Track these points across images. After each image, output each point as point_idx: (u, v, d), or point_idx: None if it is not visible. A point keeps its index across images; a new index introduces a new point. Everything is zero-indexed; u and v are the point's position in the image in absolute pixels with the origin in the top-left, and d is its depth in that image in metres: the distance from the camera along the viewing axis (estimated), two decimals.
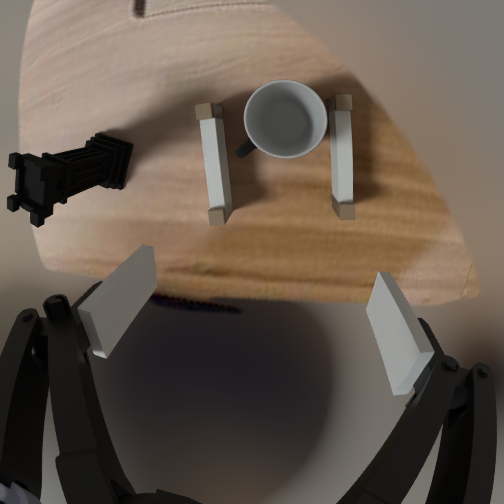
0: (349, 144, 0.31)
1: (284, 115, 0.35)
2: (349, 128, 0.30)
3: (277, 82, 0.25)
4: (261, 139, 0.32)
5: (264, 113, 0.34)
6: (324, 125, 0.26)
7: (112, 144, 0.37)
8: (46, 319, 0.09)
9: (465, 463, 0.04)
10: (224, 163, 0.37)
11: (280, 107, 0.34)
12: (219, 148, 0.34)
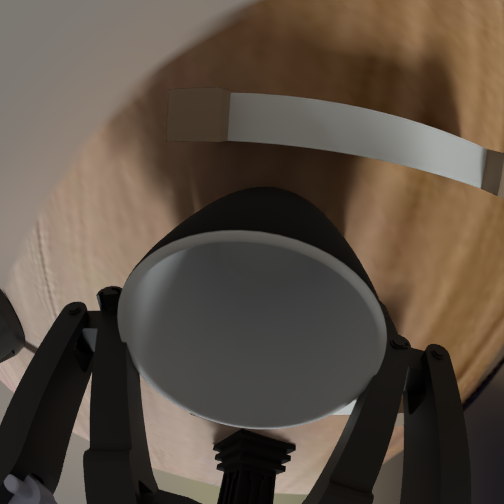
0: (343, 112, 0.09)
1: (252, 241, 0.17)
2: (290, 101, 0.09)
3: (131, 349, 0.09)
4: (297, 339, 0.14)
5: (240, 281, 0.18)
6: (293, 248, 0.06)
7: (232, 451, 0.26)
8: (94, 312, 0.10)
9: (434, 450, 0.05)
10: None
11: (232, 246, 0.17)
12: None
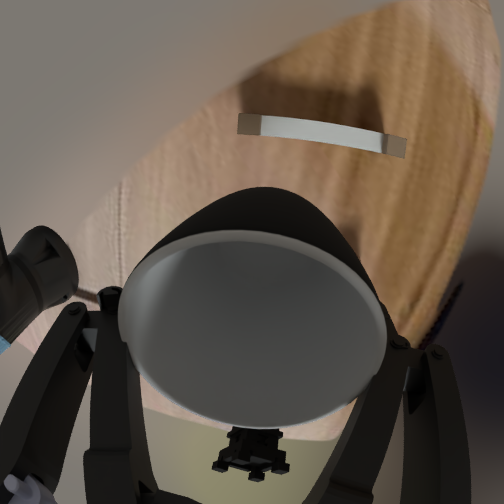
0: (308, 123, 0.23)
1: (252, 241, 0.17)
2: (286, 119, 0.23)
3: (131, 349, 0.09)
4: (298, 338, 0.14)
5: (241, 281, 0.18)
6: (293, 248, 0.06)
7: None
8: (94, 312, 0.10)
9: (434, 450, 0.05)
10: None
11: (232, 246, 0.17)
12: None
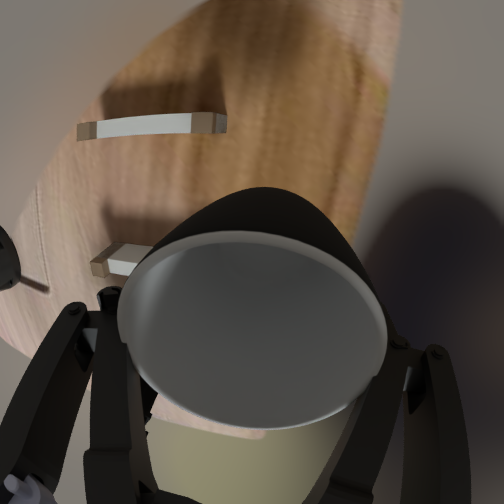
0: (128, 120, 0.24)
1: None
2: (112, 121, 0.24)
3: (131, 350, 0.09)
4: (298, 339, 0.14)
5: (241, 282, 0.18)
6: (293, 249, 0.06)
7: None
8: (94, 312, 0.10)
9: (434, 450, 0.05)
10: None
11: (232, 246, 0.17)
12: (137, 259, 0.32)
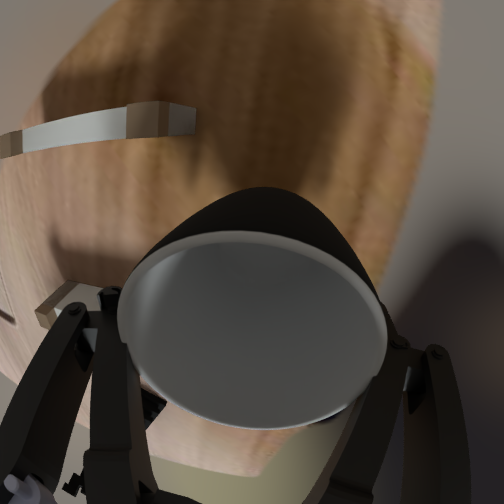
0: (54, 125, 0.14)
1: None
2: (37, 128, 0.14)
3: (131, 350, 0.09)
4: (298, 339, 0.14)
5: (241, 282, 0.18)
6: (293, 249, 0.06)
7: None
8: (94, 312, 0.10)
9: (434, 450, 0.05)
10: None
11: (232, 246, 0.17)
12: None
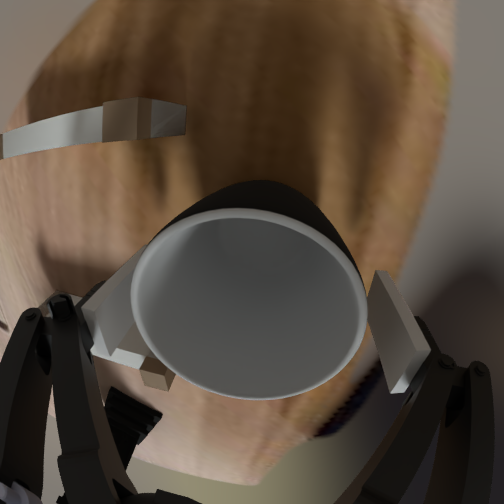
0: (32, 128, 0.12)
1: (249, 231, 0.18)
2: (17, 131, 0.12)
3: (141, 321, 0.10)
4: (292, 319, 0.15)
5: (239, 269, 0.19)
6: (281, 223, 0.08)
7: (106, 406, 0.29)
8: (49, 318, 0.09)
9: (463, 462, 0.04)
10: None
11: (231, 236, 0.19)
12: None
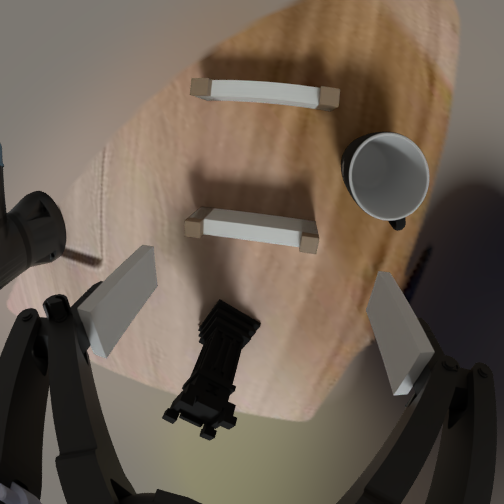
0: (250, 83, 0.26)
1: (360, 164, 0.32)
2: (232, 82, 0.26)
3: (351, 174, 0.24)
4: (389, 200, 0.29)
5: (354, 184, 0.33)
6: (405, 139, 0.22)
7: (211, 319, 0.43)
8: (46, 319, 0.09)
9: (465, 463, 0.04)
10: (258, 218, 0.35)
11: None
12: (237, 220, 0.34)
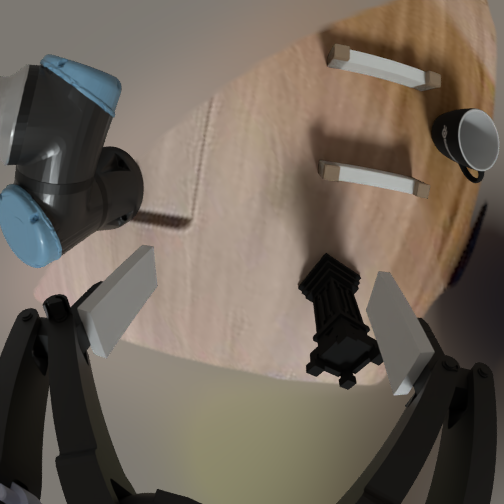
0: (378, 58, 0.27)
1: None
2: (364, 54, 0.27)
3: (459, 134, 0.25)
4: (469, 160, 0.30)
5: (439, 148, 0.34)
6: (486, 115, 0.23)
7: (320, 273, 0.44)
8: (46, 319, 0.09)
9: (465, 463, 0.04)
10: (375, 170, 0.36)
11: None
12: (365, 169, 0.35)
